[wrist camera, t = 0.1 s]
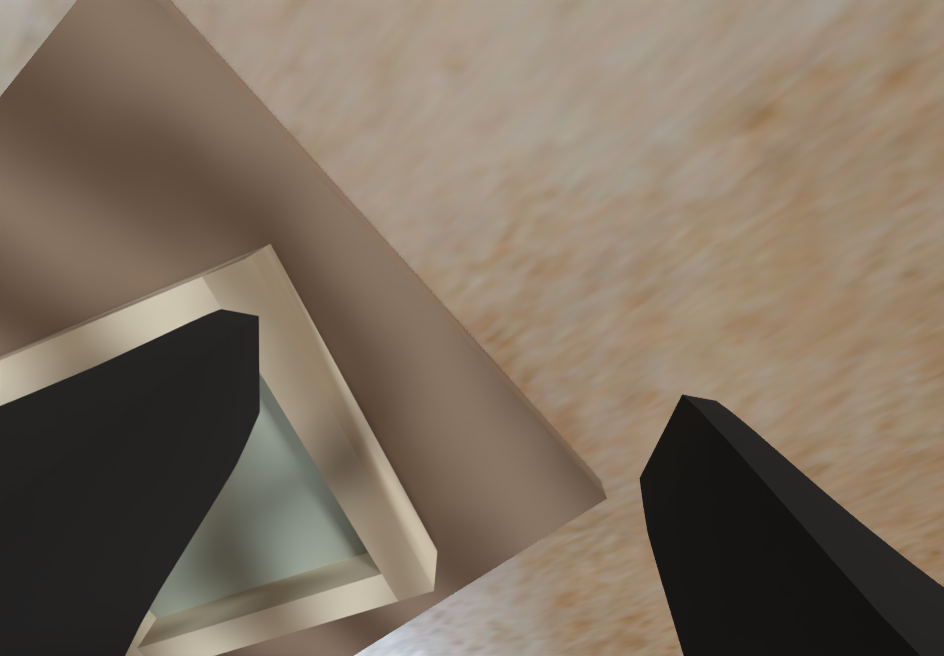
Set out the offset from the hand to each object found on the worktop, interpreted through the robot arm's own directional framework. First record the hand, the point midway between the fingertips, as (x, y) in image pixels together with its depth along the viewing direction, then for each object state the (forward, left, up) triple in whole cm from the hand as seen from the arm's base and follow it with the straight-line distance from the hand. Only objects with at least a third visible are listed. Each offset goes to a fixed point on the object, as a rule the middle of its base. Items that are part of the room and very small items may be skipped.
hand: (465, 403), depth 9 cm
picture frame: (-14, 0, -9) cm, 17 cm away
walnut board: (-13, +1, -11) cm, 17 cm away
